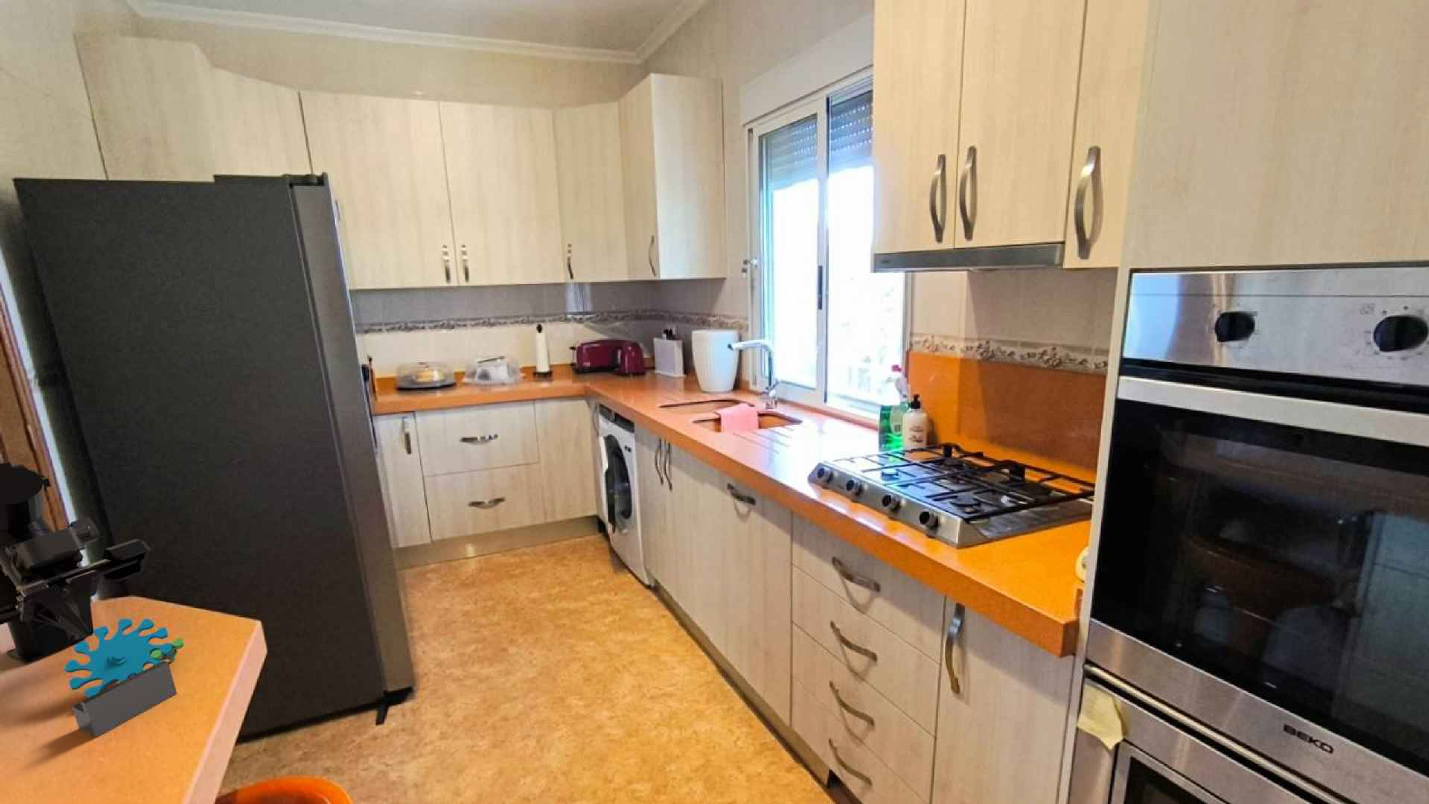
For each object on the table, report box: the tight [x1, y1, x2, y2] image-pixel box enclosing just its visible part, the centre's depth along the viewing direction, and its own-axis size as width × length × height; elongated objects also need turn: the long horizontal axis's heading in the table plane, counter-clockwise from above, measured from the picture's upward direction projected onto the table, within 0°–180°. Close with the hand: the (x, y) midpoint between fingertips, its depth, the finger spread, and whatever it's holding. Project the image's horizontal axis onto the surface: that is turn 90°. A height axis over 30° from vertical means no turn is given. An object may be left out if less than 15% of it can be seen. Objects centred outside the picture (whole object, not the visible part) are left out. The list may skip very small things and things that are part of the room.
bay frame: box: [71, 660, 178, 738], centre depth 73 cm, size 4×8×4 cm, turn 156°
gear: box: [64, 617, 185, 698], centre depth 80 cm, size 11×6×10 cm
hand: (89, 635), depth 78 cm, fingers closed
